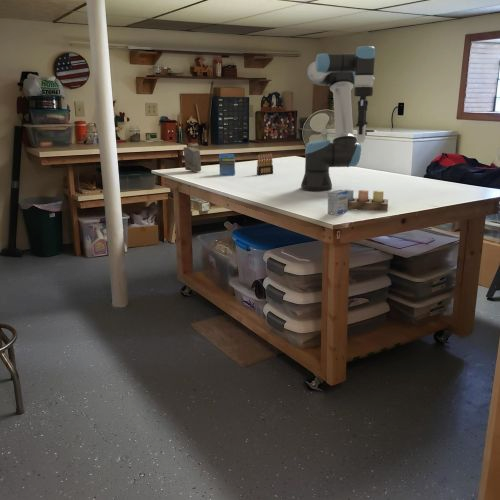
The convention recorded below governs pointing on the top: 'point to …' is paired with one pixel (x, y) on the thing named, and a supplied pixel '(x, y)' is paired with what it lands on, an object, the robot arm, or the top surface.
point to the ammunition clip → (264, 165)
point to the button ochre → (378, 196)
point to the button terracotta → (363, 196)
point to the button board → (368, 205)
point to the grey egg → (350, 194)
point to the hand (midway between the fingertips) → (360, 141)
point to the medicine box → (337, 201)
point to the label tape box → (227, 164)
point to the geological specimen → (192, 159)
